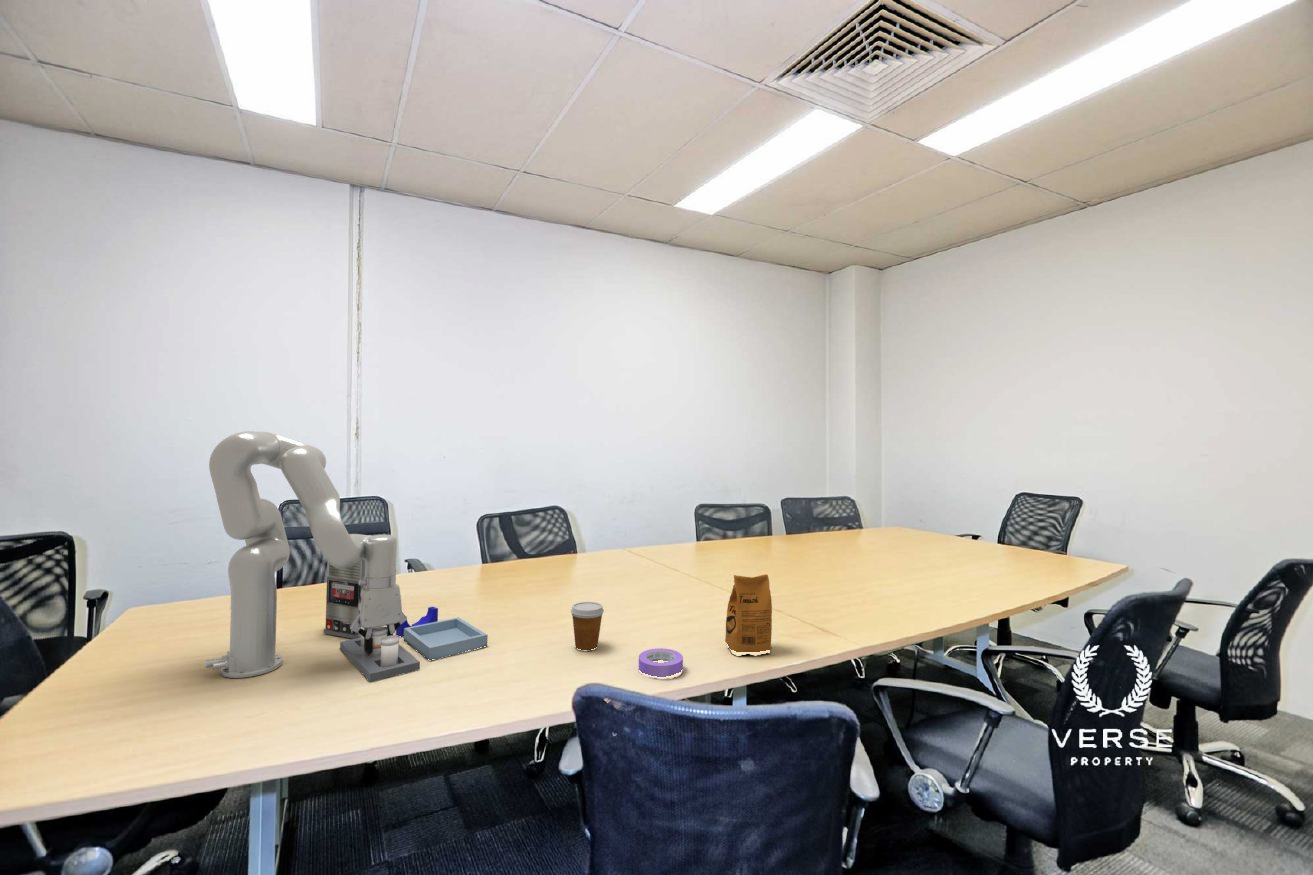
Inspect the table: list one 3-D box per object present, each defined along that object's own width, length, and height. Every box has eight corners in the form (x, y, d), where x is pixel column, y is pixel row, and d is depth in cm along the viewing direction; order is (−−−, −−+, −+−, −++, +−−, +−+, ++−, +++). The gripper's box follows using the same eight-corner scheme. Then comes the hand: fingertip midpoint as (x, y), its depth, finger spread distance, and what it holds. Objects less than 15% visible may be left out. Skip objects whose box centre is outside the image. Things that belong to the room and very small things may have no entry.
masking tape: (644, 682, 140) (644, 667, 140) (633, 664, 151) (634, 649, 151) (688, 678, 143) (689, 663, 143) (675, 660, 155) (675, 646, 155)
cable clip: (429, 624, 179) (429, 605, 179) (437, 627, 176) (438, 608, 176) (393, 634, 169) (393, 614, 169) (401, 637, 166) (401, 617, 166)
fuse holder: (369, 682, 136) (370, 674, 136) (340, 648, 156) (340, 641, 156) (419, 669, 144) (419, 661, 144) (385, 639, 164) (385, 632, 164)
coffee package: (722, 645, 166) (723, 571, 166) (761, 643, 169) (763, 570, 169) (732, 658, 157) (734, 579, 157) (774, 656, 159) (776, 578, 159)
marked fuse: (372, 663, 147) (372, 632, 147) (367, 658, 150) (368, 628, 150) (389, 659, 150) (389, 629, 150) (384, 654, 153) (384, 625, 153)
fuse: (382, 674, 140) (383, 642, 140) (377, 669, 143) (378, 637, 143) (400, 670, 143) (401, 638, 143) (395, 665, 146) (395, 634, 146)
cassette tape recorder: (322, 634, 167) (324, 550, 167) (340, 628, 173) (342, 547, 173) (358, 640, 163) (360, 554, 163) (375, 634, 168) (377, 551, 168)
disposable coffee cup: (563, 649, 160) (564, 607, 160) (582, 639, 168) (583, 599, 168) (590, 656, 155) (591, 613, 155) (609, 645, 164) (610, 604, 164)
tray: (429, 661, 149) (429, 648, 149) (403, 640, 164) (403, 628, 164) (487, 647, 160) (487, 634, 160) (458, 628, 175) (458, 617, 175)
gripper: (349, 589, 142) (347, 662, 142) (417, 579, 153) (415, 647, 153) (341, 583, 147) (339, 653, 147) (407, 574, 158) (406, 639, 158)
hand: (378, 649), depth 150 cm, fingers closed on marked fuse, 4 cm apart
